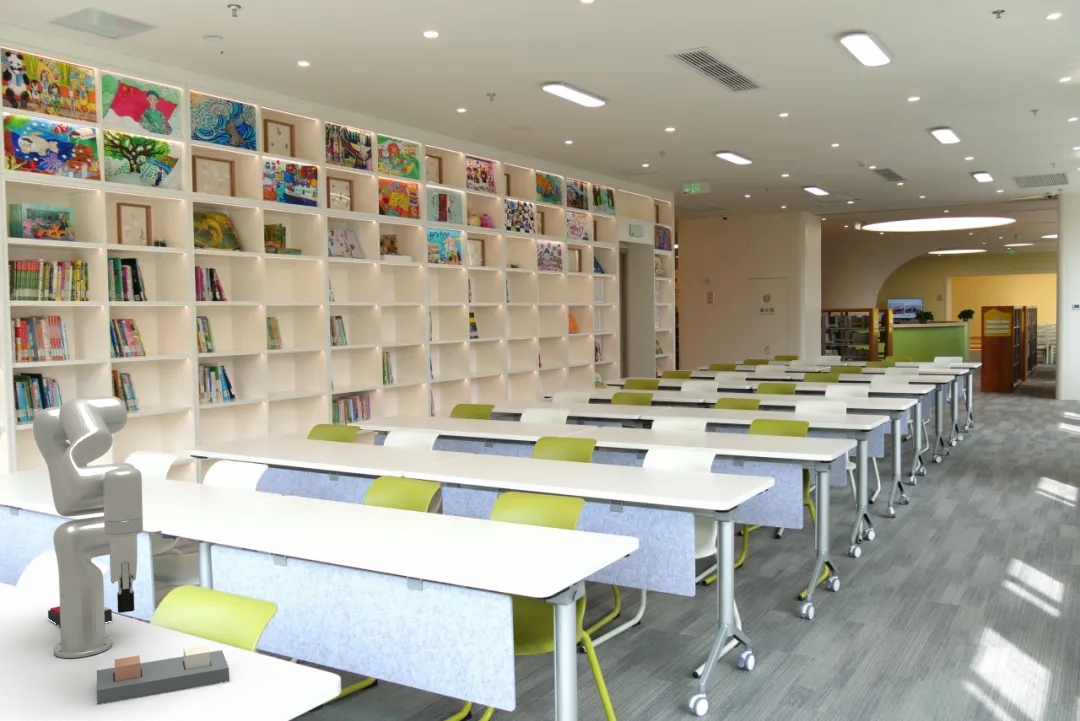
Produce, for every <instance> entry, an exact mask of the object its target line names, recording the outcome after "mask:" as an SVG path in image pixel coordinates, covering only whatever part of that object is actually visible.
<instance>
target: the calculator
mask: <svg viewBox="0 0 1080 721" xmlns="http://www.w3.org/2000/svg"><path fill="white" fill-rule="evenodd" d="M112 612H113V611H112V609H110V608H109V607H107V606H104V617H105V622H108V621H112V622H113V615H112V614H113V613H112ZM47 618H49V619H50V620H52V621H53V622H55V623H56V624H58V625H59V626H60V605H59V606H58V605H57V606H54V607H50V608H49V609H48V611H47ZM59 626H58V627H59ZM60 628H61V626H60Z"/></svg>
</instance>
